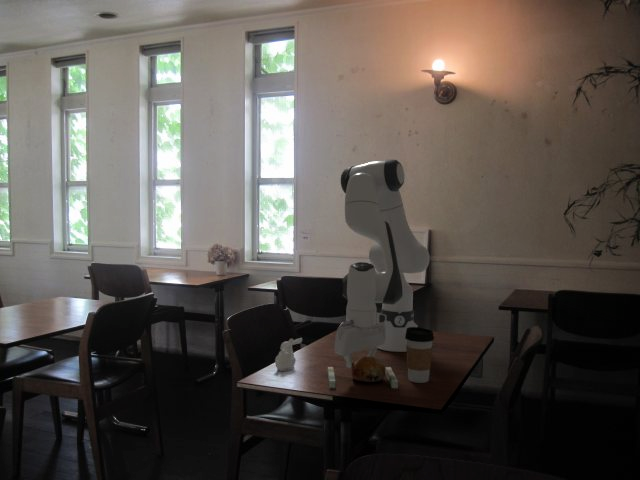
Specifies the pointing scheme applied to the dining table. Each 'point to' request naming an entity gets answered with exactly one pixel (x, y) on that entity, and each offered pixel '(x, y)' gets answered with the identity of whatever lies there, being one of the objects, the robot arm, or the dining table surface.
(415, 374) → the coffee cup
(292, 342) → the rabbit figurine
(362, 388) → the dining table surface
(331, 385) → the channel
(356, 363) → the bread roll
